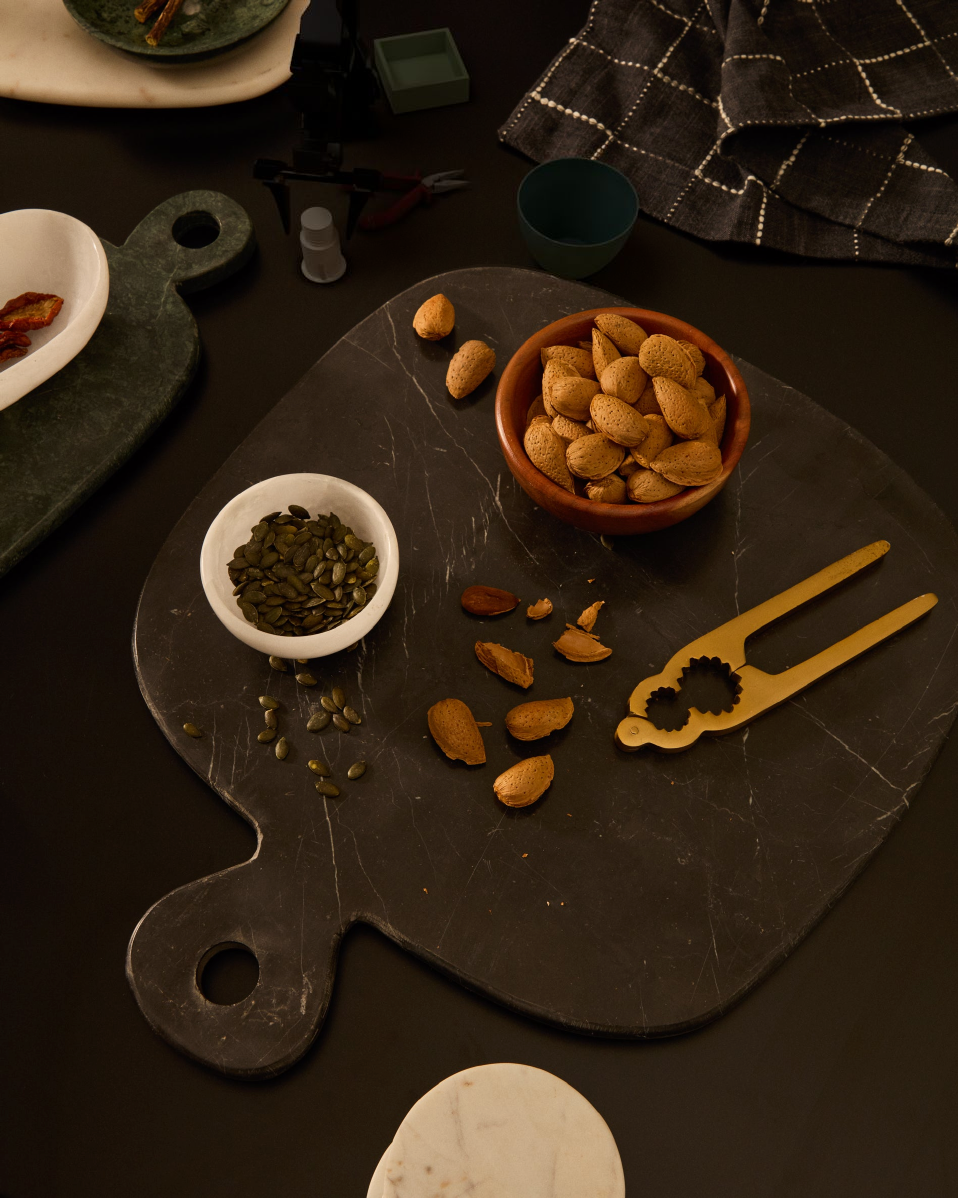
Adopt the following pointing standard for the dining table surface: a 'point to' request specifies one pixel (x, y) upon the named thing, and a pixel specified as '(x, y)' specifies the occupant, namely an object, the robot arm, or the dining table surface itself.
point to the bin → (421, 70)
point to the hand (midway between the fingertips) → (317, 237)
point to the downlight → (320, 246)
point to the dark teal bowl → (575, 215)
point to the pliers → (409, 194)
